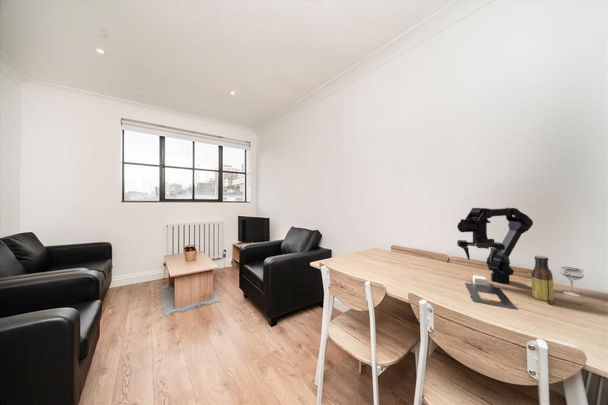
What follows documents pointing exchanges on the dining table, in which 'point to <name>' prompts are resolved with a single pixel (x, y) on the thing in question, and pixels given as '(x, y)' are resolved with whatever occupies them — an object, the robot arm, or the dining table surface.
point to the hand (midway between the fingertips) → (479, 260)
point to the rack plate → (476, 297)
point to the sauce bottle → (542, 280)
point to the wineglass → (572, 277)
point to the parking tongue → (478, 284)
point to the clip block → (479, 280)
